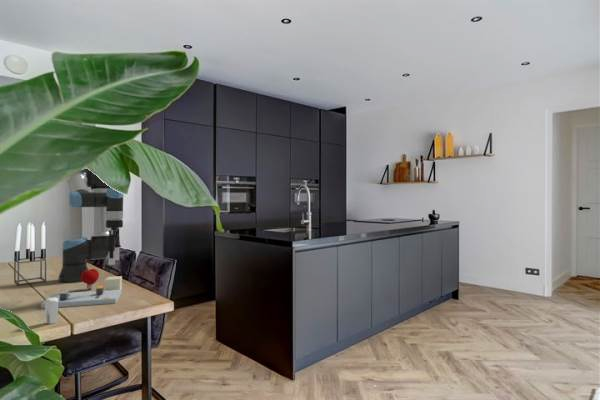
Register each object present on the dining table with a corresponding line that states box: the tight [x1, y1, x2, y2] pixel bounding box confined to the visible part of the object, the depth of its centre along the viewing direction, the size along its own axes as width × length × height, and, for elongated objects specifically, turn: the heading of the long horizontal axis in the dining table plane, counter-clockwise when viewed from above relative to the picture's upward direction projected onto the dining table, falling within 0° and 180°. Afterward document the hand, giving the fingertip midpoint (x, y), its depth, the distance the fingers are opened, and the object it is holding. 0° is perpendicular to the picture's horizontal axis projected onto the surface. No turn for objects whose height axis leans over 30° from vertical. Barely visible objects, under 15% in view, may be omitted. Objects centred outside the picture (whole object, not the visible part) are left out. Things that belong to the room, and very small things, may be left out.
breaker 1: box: [59, 290, 69, 300], centre depth 156 cm, size 3×2×3 cm
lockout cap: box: [104, 275, 123, 291], centre depth 178 cm, size 7×6×7 cm
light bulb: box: [81, 268, 100, 291], centre depth 182 cm, size 9×7×10 cm
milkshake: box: [43, 296, 60, 325], centre depth 133 cm, size 4×5×10 cm
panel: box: [40, 289, 122, 309], centre depth 162 cm, size 17×28×2 cm, turn 109°
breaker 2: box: [95, 285, 105, 295], centre depth 166 cm, size 3×2×3 cm
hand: (113, 262), depth 178 cm, fingers open, 13 cm apart
